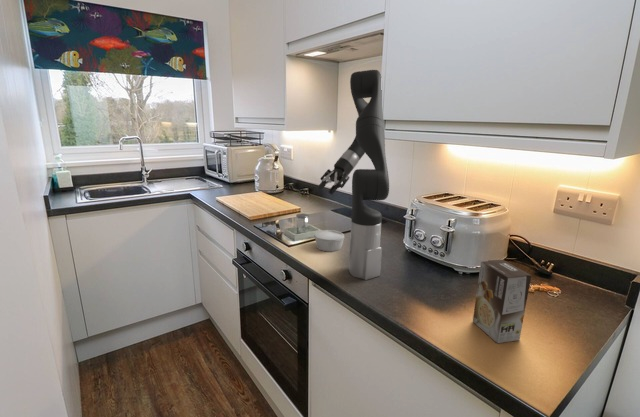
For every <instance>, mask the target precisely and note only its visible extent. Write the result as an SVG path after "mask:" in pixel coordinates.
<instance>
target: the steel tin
mask: <svg viewBox="0 0 640 417" xmlns="http://www.w3.org/2000/svg"><path fill="white" fill-rule="evenodd" d="M295 216H296V226H297V234H301V233H307V232H309V224H310V223H309V222H310V221H309V218H310V215H309V214H308V213H298V214H296V215H295Z"/></svg>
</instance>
